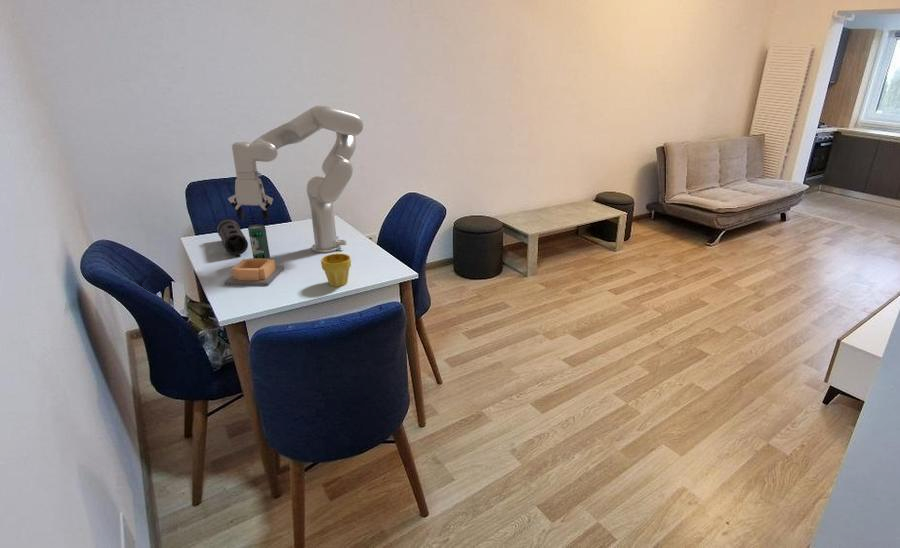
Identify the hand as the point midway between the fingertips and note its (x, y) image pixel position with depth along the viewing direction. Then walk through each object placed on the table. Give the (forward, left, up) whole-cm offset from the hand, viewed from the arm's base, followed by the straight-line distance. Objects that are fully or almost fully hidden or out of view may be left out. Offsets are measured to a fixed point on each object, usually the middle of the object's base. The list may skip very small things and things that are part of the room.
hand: (253, 219), depth 181 cm
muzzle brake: (+19, -17, -19) cm, 32 cm away
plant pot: (-37, +21, -19) cm, 47 cm away
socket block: (-4, +16, -18) cm, 24 cm away
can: (0, 0, -19) cm, 19 cm away
